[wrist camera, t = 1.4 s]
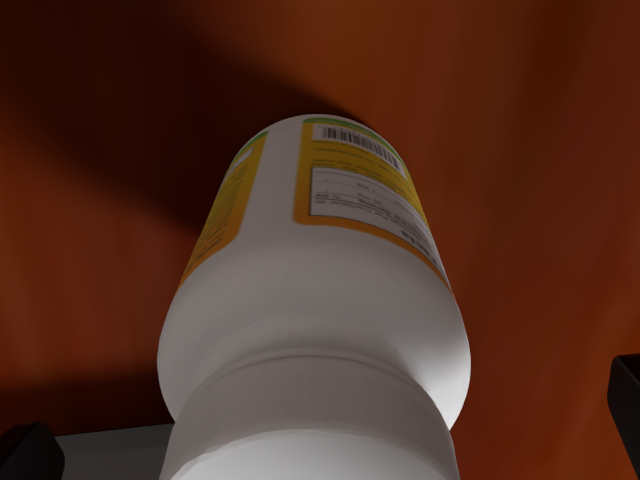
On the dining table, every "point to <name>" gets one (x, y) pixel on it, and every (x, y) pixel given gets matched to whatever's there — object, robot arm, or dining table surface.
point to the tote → (116, 453)
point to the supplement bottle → (314, 320)
